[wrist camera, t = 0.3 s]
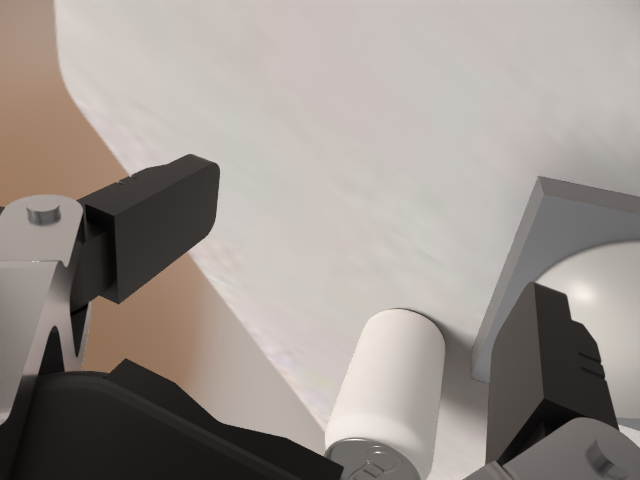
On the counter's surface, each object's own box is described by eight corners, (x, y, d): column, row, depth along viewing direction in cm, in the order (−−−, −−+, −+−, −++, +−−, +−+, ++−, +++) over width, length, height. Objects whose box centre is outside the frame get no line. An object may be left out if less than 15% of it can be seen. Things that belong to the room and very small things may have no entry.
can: (463, 334, 33) (453, 480, 23) (418, 384, 36) (393, 529, 26) (386, 291, 33) (344, 415, 23) (350, 344, 37) (299, 472, 27)
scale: (537, 173, 27) (545, 199, 23) (824, 231, 24) (887, 274, 20) (472, 344, 34) (470, 386, 30) (686, 408, 31) (714, 463, 27)
